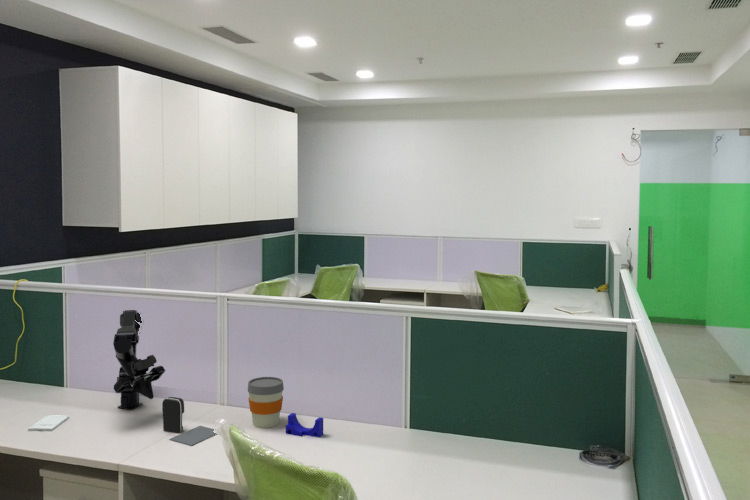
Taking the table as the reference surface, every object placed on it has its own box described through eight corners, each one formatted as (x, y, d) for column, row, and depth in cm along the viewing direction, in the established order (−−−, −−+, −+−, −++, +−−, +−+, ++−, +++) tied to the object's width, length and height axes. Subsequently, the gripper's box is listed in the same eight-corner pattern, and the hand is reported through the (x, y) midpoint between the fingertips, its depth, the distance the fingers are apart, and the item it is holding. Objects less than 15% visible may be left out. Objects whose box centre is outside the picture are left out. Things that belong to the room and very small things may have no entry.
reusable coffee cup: (272, 431, 225) (271, 389, 224) (240, 426, 230) (240, 384, 228) (290, 419, 237) (290, 379, 235) (260, 414, 241) (259, 374, 240)
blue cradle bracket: (285, 434, 224) (285, 417, 223) (292, 429, 228) (292, 412, 227) (317, 439, 219) (317, 422, 219) (323, 435, 223) (323, 417, 223)
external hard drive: (69, 419, 237) (51, 432, 224) (46, 419, 237) (27, 432, 224) (69, 415, 236) (51, 428, 224) (46, 415, 237) (27, 427, 224)
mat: (169, 439, 217) (169, 438, 217) (200, 426, 230) (200, 425, 230) (191, 446, 213) (191, 445, 213) (221, 431, 225) (221, 431, 225)
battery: (186, 429, 227) (185, 397, 226) (179, 433, 223) (179, 400, 222) (168, 427, 229) (168, 395, 228) (162, 430, 225) (161, 398, 224)
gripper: (118, 355, 223) (141, 392, 218) (161, 343, 239) (183, 378, 234) (103, 374, 227) (126, 411, 223) (146, 361, 244) (168, 395, 239)
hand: (152, 398), depth 230 cm, fingers closed
